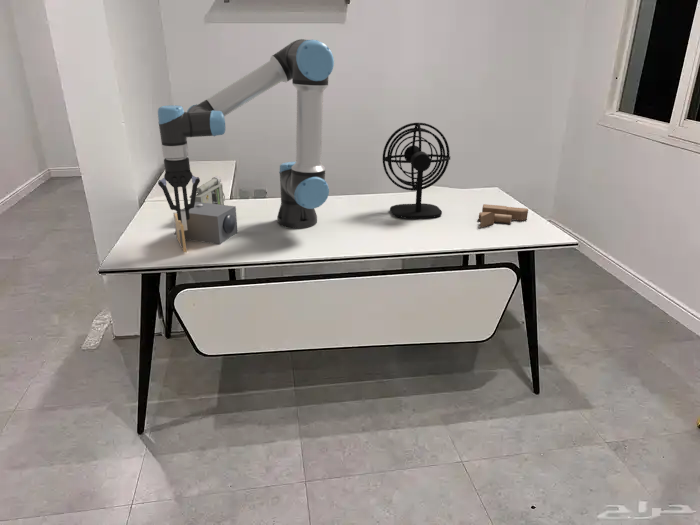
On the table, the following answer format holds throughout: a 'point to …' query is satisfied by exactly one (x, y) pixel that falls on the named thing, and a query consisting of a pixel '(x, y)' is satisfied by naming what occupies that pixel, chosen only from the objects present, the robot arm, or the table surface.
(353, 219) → the table surface
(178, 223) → the side door
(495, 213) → the wooden block set
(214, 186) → the geiger counter
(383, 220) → the table surface
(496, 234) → the table surface
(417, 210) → the desk fan
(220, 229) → the camera housing
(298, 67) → the robot arm
